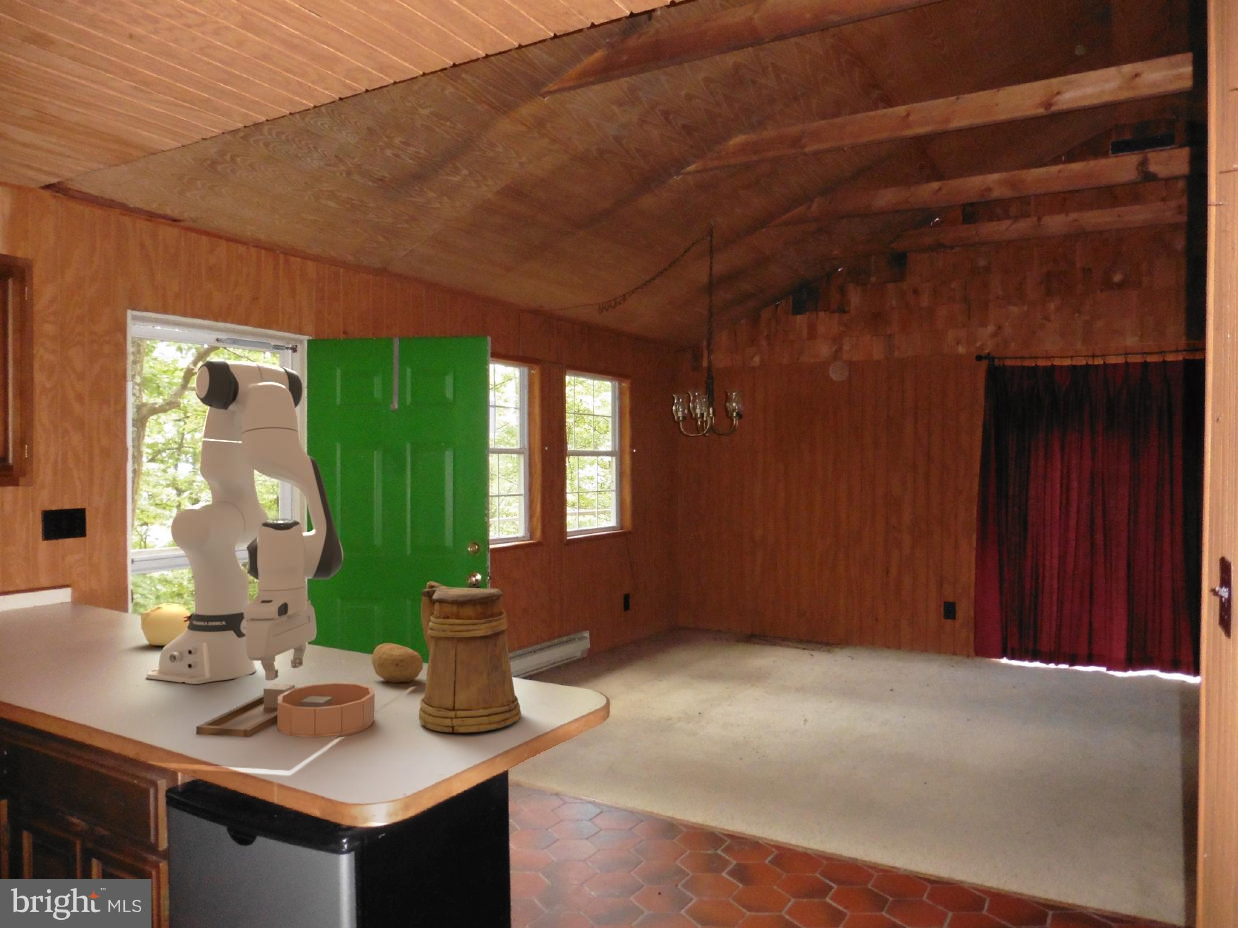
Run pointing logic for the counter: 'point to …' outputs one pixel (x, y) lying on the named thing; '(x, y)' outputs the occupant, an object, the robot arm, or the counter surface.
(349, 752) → the counter surface
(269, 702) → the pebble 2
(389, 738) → the counter surface
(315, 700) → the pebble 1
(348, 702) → the bowl
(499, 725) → the tankard
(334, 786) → the counter surface
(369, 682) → the counter surface
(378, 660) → the potato
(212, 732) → the parts tray
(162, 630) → the yellow apple
